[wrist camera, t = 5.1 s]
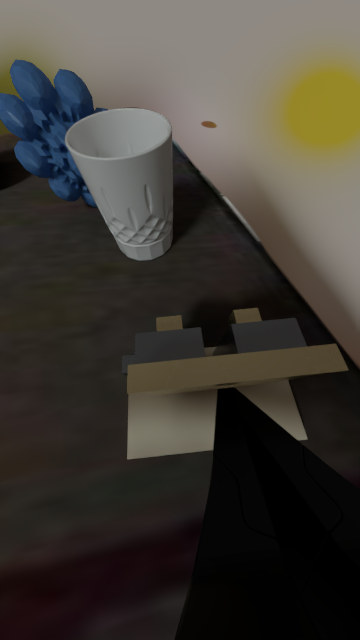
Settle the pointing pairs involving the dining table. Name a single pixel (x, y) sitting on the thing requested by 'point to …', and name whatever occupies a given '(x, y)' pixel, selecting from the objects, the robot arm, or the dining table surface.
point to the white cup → (128, 175)
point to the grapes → (48, 125)
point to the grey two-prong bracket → (233, 342)
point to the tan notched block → (231, 365)
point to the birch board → (199, 418)
